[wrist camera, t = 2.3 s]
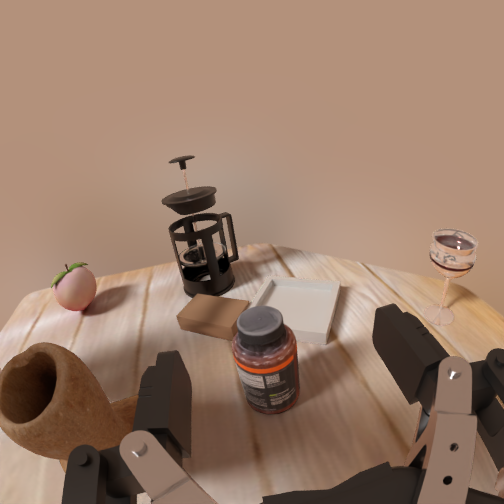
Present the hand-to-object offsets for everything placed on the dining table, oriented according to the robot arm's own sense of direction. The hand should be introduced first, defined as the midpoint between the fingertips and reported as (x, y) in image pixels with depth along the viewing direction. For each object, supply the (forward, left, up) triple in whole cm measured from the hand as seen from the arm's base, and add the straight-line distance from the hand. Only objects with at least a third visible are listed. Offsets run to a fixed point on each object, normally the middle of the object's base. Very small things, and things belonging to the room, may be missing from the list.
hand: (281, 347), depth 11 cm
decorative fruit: (-46, +15, -19) cm, 52 cm away
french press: (-24, +29, -19) cm, 43 cm away
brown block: (-18, +20, -19) cm, 33 cm away
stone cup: (-18, -4, -19) cm, 26 cm away
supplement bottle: (-6, +10, -19) cm, 22 cm away
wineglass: (+14, +27, -19) cm, 36 cm away
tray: (-8, +25, -19) cm, 32 cm away
